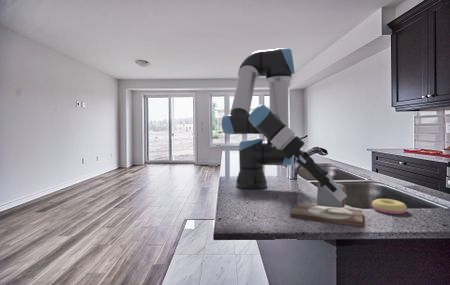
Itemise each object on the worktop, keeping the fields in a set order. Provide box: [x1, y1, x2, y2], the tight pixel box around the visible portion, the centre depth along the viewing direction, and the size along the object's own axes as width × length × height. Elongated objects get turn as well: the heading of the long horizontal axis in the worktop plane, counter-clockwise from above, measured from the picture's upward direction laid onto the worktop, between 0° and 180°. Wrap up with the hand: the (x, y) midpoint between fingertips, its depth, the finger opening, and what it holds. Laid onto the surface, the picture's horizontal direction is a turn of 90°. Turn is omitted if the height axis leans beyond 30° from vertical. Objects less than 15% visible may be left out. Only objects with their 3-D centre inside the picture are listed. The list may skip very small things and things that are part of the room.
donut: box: [371, 198, 408, 215], centre depth 85 cm, size 10×5×9 cm
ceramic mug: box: [316, 181, 347, 208], centre depth 81 cm, size 11×8×8 cm
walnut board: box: [289, 203, 364, 228], centre depth 81 cm, size 13×20×1 cm, turn 63°
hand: (341, 195), depth 79 cm, fingers closed on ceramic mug, 8 cm apart
